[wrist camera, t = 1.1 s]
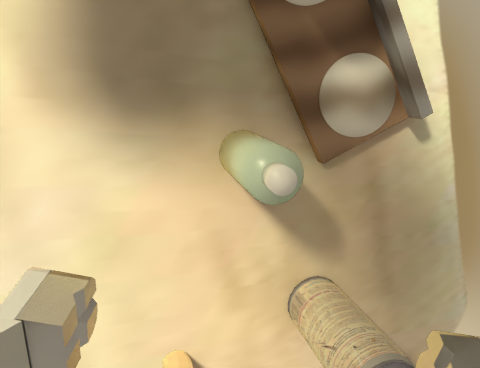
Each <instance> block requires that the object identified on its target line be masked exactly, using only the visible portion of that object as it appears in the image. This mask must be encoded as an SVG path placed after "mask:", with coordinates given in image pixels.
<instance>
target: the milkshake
mask: <svg viewBox="0 0 480 368" xmlns="http://www.w3.org/2000/svg"><path fill="white" fill-rule="evenodd" d="M163 368H193V365H192V362H191V359H190V357H189V356H188V355H187V354H186V353H185V352H184V351H178V350H175V351H173V352H171V353H168V354H167V356H166V357H165V358H164V360H163Z"/></svg>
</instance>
